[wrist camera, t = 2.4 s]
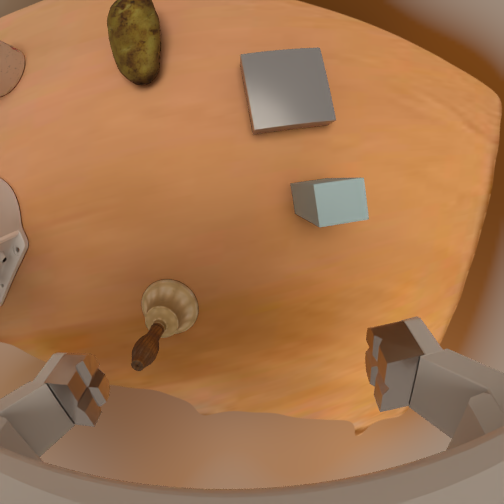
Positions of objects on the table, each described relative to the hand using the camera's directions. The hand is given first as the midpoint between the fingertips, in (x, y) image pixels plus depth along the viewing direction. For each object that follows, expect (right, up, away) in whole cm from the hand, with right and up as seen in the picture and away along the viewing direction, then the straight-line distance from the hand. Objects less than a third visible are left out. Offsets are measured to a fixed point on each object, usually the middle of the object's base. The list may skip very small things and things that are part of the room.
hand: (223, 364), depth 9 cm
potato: (-15, +32, +28) cm, 44 cm away
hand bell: (-11, -5, +36) cm, 38 cm away
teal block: (+9, +11, +33) cm, 36 cm away
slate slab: (+5, +24, +30) cm, 39 cm away
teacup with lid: (-41, +33, +26) cm, 59 cm away
